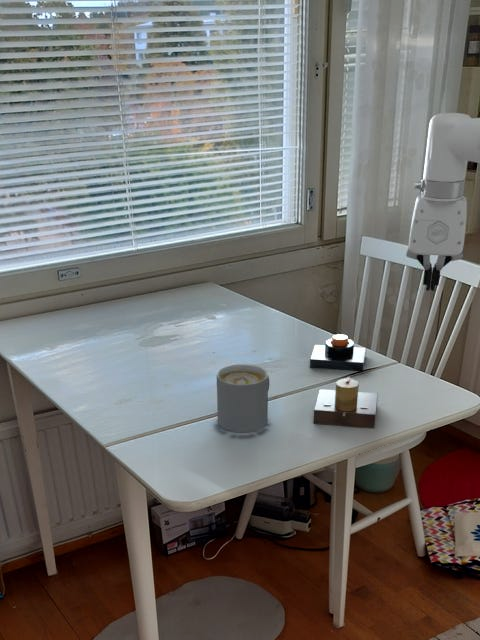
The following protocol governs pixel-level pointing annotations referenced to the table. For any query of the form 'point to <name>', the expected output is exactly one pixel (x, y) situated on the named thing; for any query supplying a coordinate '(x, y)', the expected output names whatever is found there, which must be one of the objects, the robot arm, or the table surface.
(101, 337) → the table surface
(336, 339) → the button
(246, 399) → the coffee mug
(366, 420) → the dial panel
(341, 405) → the dial
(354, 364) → the button box
